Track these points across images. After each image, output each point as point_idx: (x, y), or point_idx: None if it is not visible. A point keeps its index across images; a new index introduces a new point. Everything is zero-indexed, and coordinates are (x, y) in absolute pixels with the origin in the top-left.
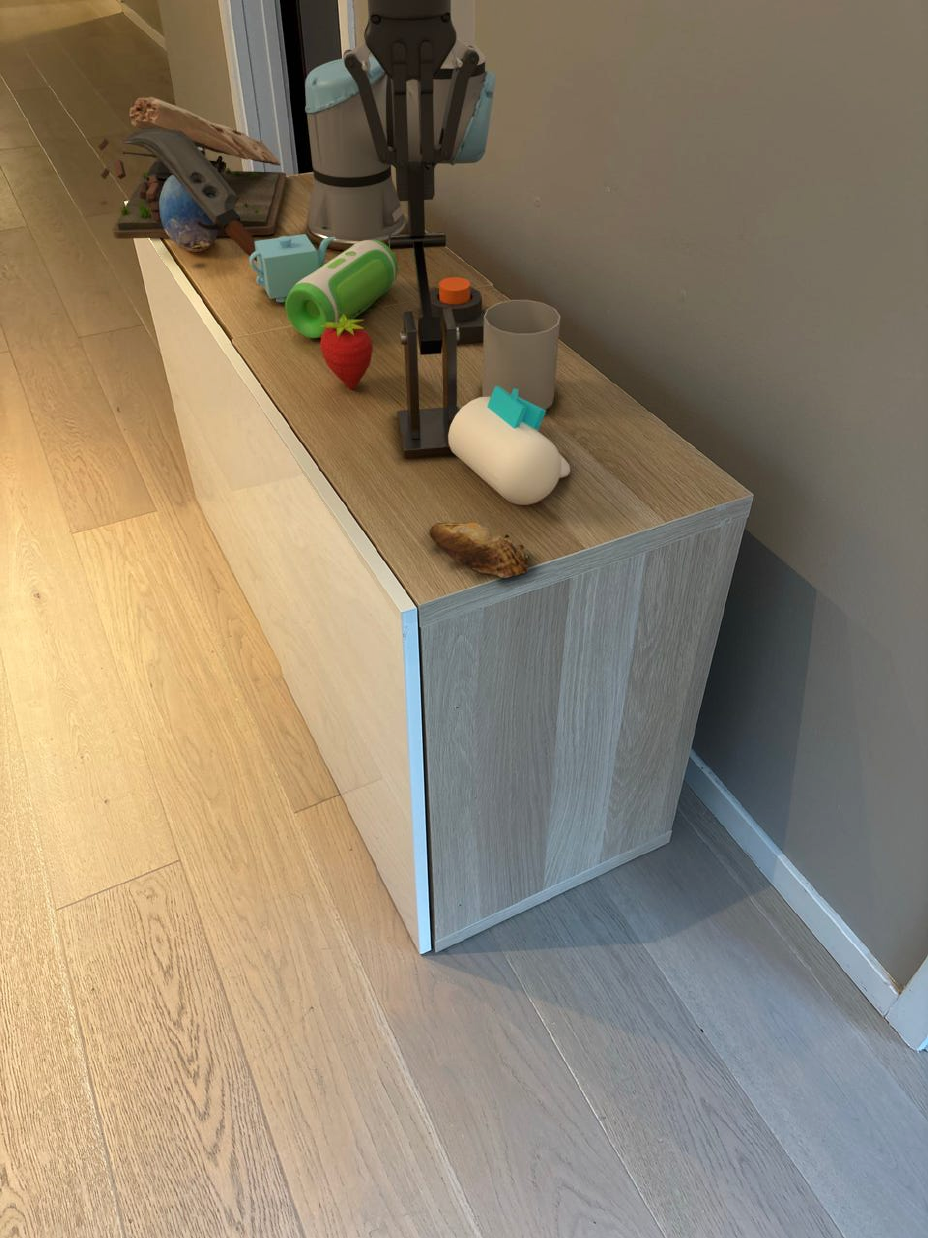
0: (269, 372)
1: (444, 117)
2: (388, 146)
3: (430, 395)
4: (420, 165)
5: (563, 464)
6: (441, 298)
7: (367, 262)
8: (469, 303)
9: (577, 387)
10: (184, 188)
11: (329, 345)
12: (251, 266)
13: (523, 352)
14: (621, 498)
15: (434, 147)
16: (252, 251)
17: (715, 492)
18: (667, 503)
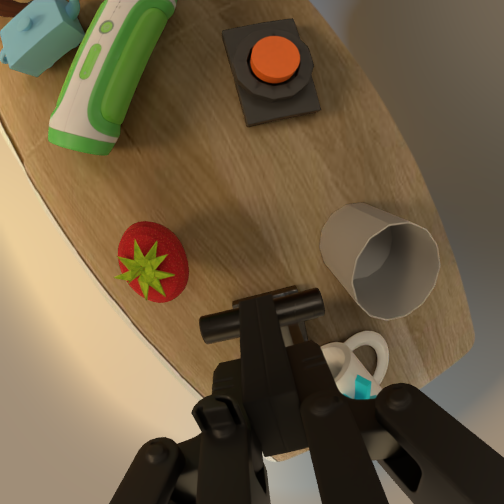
0: (74, 224)
1: (445, 494)
2: (184, 474)
3: (260, 249)
4: (299, 422)
5: (385, 368)
6: (255, 73)
7: (133, 27)
8: (298, 82)
9: (412, 214)
10: None
11: (138, 293)
12: (5, 63)
13: (386, 307)
14: (413, 368)
15: (364, 442)
16: (9, 15)
17: (465, 346)
18: (437, 364)
